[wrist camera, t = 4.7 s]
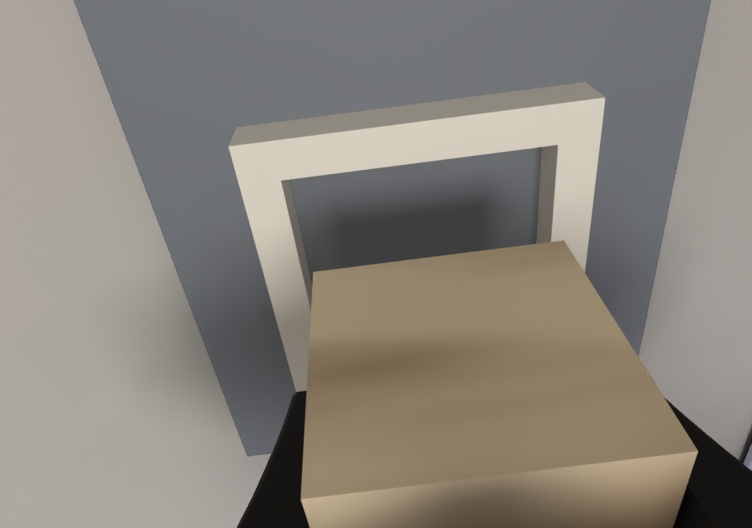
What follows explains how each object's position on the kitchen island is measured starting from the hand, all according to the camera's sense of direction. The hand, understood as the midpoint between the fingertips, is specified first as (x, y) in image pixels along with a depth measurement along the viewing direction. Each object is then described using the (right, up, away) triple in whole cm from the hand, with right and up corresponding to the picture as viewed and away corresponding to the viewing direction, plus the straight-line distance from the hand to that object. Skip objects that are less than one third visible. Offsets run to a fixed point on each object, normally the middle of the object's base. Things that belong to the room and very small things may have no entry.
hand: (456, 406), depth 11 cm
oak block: (0, +1, +1) cm, 2 cm away
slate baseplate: (0, +4, +6) cm, 7 cm away
